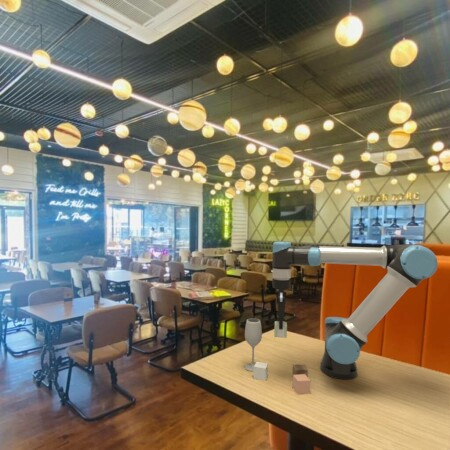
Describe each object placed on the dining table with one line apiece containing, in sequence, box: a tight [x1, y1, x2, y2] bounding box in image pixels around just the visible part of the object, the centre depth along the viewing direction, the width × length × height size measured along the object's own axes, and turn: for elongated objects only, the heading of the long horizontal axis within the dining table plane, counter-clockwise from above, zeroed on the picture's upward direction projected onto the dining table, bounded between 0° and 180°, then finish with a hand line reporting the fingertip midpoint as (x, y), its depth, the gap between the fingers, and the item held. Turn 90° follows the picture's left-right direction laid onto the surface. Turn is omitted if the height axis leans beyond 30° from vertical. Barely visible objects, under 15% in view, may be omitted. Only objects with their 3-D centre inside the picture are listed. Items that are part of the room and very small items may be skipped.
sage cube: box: [273, 320, 288, 339], centre depth 127 cm, size 5×5×5 cm
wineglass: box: [244, 317, 263, 373], centre depth 135 cm, size 8×8×21 cm
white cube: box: [253, 361, 269, 381], centre depth 127 cm, size 5×5×5 cm
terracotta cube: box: [292, 374, 311, 395], centre depth 116 cm, size 5×5×5 cm
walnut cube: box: [292, 364, 309, 378], centre depth 125 cm, size 5×5×5 cm
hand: (280, 334), depth 127 cm, fingers closed on sage cube, 5 cm apart
